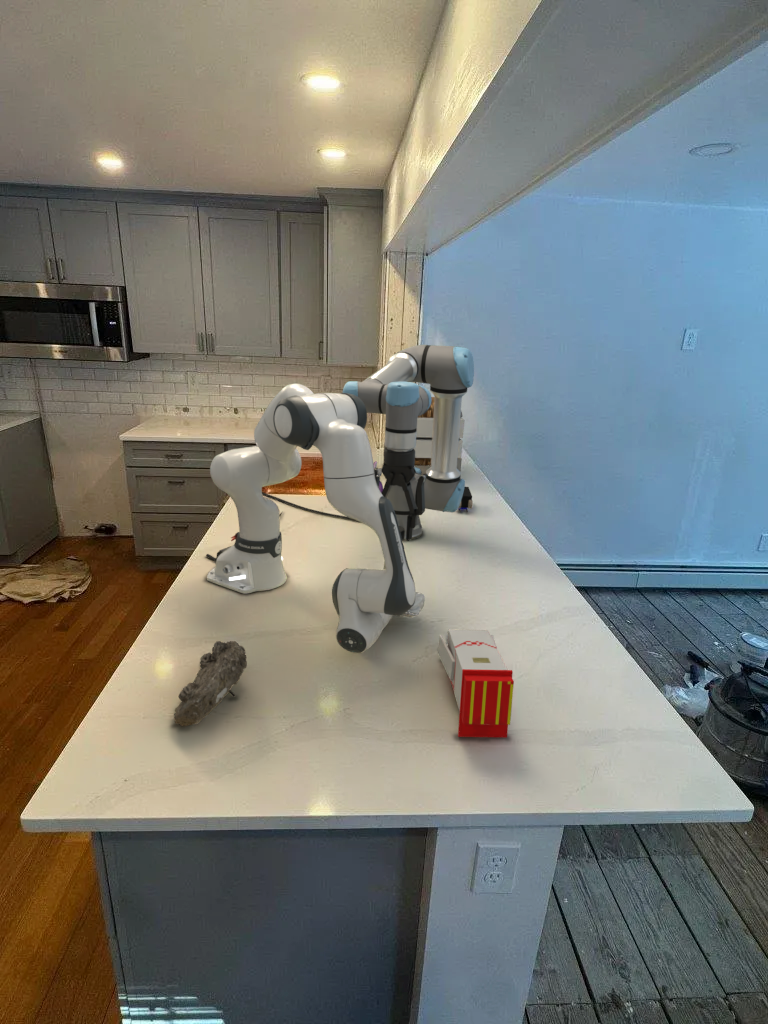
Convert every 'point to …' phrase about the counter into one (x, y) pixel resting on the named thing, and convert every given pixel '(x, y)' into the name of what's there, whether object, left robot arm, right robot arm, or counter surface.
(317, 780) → the counter surface
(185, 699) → the fossil
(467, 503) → the figurine character
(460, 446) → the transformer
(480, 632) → the toy
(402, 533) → the cap
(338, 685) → the counter surface
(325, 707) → the counter surface
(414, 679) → the counter surface
